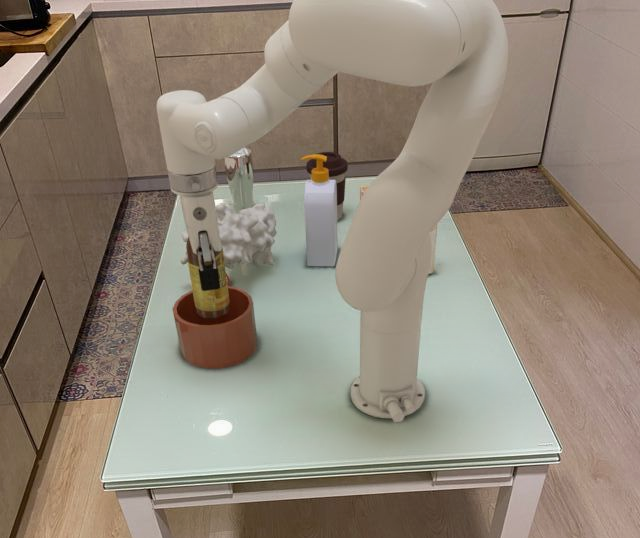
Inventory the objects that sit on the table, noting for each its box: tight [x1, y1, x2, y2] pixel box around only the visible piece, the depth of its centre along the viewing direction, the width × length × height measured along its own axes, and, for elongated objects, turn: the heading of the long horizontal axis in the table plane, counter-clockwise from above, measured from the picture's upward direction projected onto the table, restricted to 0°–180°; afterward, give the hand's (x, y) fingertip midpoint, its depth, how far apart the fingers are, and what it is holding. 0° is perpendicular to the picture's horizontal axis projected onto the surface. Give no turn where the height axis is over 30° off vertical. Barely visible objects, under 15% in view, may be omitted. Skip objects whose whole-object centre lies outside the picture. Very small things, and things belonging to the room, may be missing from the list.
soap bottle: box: [300, 153, 339, 267], centre depth 145 cm, size 9×7×23 cm
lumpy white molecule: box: [180, 202, 278, 286], centre depth 142 cm, size 20×18×25 cm
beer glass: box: [224, 147, 256, 214], centre depth 169 cm, size 7×7×15 cm
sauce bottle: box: [185, 212, 229, 319], centre depth 116 cm, size 7×6×20 cm
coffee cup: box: [306, 151, 349, 221], centre depth 165 cm, size 10×10×15 cm
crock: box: [172, 285, 258, 370], centre depth 125 cm, size 14×14×9 cm
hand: (208, 278), depth 118 cm, fingers closed on sauce bottle, 6 cm apart
